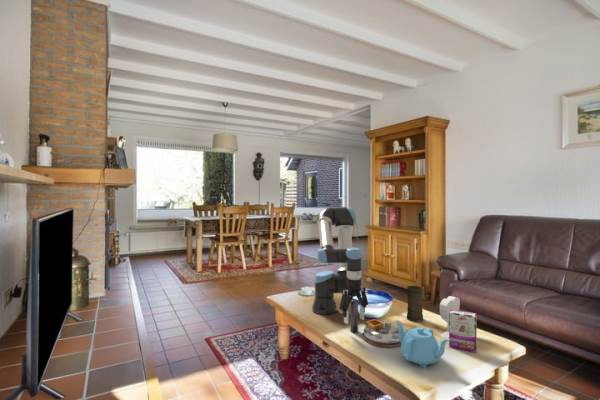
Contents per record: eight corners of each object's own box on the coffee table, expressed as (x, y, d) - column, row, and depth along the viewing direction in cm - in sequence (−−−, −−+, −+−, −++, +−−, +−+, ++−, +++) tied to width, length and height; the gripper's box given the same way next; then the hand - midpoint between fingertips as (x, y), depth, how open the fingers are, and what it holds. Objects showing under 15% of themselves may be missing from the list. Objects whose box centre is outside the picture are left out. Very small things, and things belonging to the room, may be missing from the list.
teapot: (395, 349, 149) (395, 319, 149) (441, 353, 146) (441, 322, 145) (399, 368, 133) (399, 334, 133) (450, 373, 130) (450, 338, 129)
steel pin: (348, 330, 170) (348, 300, 170) (354, 328, 172) (354, 298, 172) (353, 333, 167) (353, 302, 167) (359, 331, 169) (359, 300, 169)
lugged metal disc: (412, 338, 158) (412, 329, 158) (383, 348, 148) (383, 338, 148) (383, 325, 174) (383, 316, 174) (356, 332, 165) (356, 323, 164)
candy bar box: (476, 348, 150) (476, 313, 150) (476, 353, 146) (476, 316, 145) (450, 343, 156) (450, 308, 155) (448, 347, 151) (448, 312, 151)
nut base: (354, 335, 165) (354, 333, 165) (383, 326, 175) (383, 325, 175) (383, 351, 147) (383, 349, 147) (413, 341, 157) (413, 339, 157)
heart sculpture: (451, 327, 173) (451, 293, 173) (461, 330, 170) (461, 296, 169) (437, 336, 163) (438, 300, 163) (448, 339, 159) (448, 302, 159)
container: (424, 322, 180) (424, 290, 180) (407, 321, 182) (407, 289, 182) (422, 316, 189) (422, 285, 189) (405, 315, 191) (405, 284, 190)
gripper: (341, 282, 160) (341, 328, 161) (375, 276, 172) (375, 319, 172) (332, 279, 167) (332, 322, 167) (365, 273, 178) (365, 314, 178)
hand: (354, 321), depth 170 cm, fingers open, 10 cm apart
